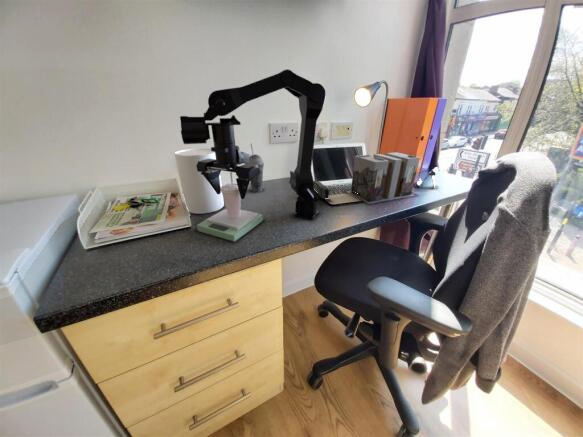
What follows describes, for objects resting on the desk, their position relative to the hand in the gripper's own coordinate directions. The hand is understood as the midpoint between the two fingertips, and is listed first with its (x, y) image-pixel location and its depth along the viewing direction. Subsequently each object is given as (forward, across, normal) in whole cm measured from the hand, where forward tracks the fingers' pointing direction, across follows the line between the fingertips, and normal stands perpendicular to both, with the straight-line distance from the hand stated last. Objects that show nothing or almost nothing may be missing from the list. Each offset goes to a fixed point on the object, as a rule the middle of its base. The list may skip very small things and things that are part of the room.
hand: (230, 196), depth 71 cm
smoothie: (+7, 0, 0) cm, 7 cm away
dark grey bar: (+10, -16, -37) cm, 41 cm away
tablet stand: (+10, -56, -72) cm, 92 cm away
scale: (+10, 0, +1) cm, 10 cm away
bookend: (+10, -38, -52) cm, 65 cm away
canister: (+10, +19, -7) cm, 22 cm away
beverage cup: (+10, +12, -31) cm, 35 cm away
